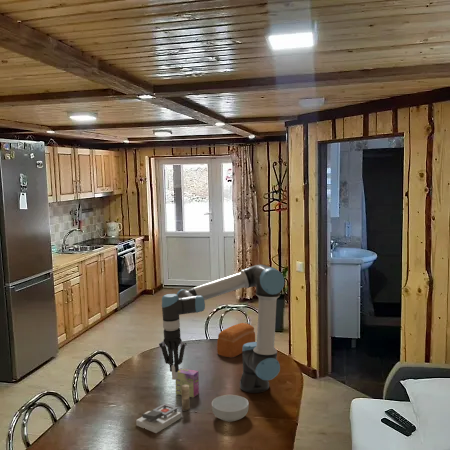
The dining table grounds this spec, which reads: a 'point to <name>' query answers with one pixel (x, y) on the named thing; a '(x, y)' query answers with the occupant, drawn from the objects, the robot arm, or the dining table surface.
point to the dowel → (185, 397)
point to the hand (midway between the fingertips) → (174, 378)
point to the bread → (234, 339)
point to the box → (187, 381)
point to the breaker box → (160, 419)
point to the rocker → (152, 415)
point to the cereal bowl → (230, 407)
